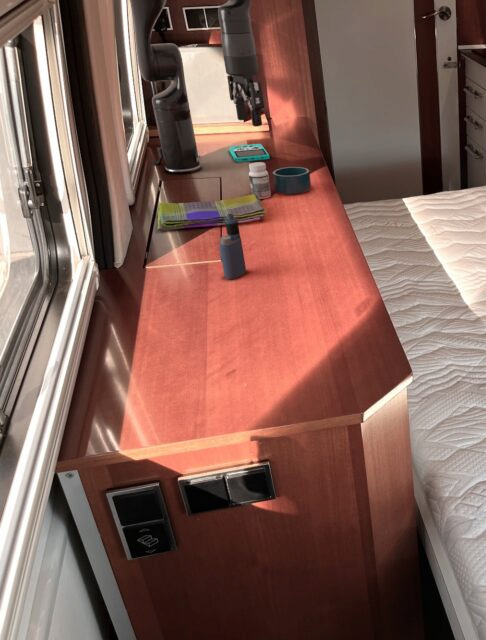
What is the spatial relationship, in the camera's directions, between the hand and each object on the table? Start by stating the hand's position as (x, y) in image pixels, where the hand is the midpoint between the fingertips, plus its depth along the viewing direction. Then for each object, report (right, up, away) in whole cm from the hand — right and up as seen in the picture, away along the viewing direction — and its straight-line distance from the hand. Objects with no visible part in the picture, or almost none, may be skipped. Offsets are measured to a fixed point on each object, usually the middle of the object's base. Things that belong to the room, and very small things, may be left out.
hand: (249, 122), depth 200 cm
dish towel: (-7, -25, -6) cm, 26 cm away
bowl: (+7, -14, +13) cm, 20 cm away
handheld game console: (-15, +5, +46) cm, 49 cm away
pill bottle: (0, -16, +8) cm, 19 cm away
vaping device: (+10, -43, -38) cm, 58 cm away
